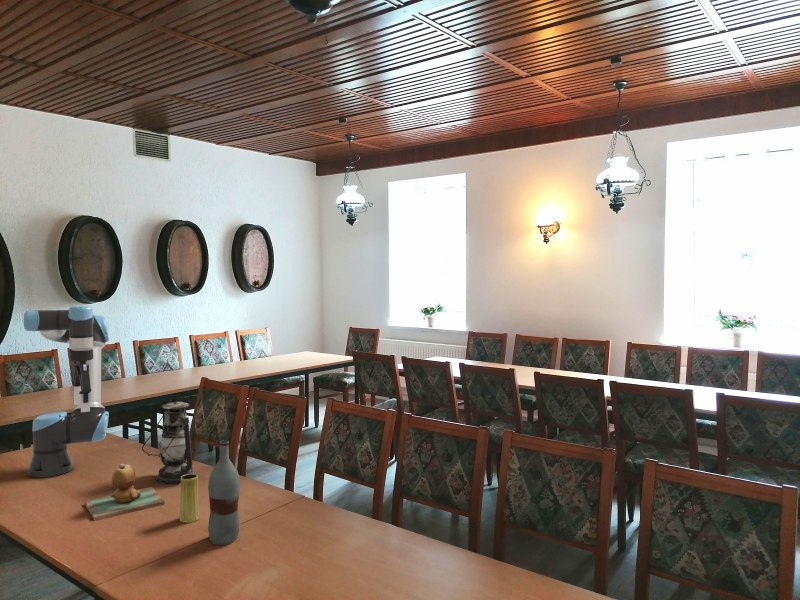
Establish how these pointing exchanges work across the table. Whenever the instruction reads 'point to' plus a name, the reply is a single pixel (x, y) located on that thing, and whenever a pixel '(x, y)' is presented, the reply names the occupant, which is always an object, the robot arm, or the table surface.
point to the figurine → (124, 484)
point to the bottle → (224, 500)
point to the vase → (189, 498)
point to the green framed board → (111, 508)
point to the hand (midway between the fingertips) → (81, 407)
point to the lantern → (174, 444)
